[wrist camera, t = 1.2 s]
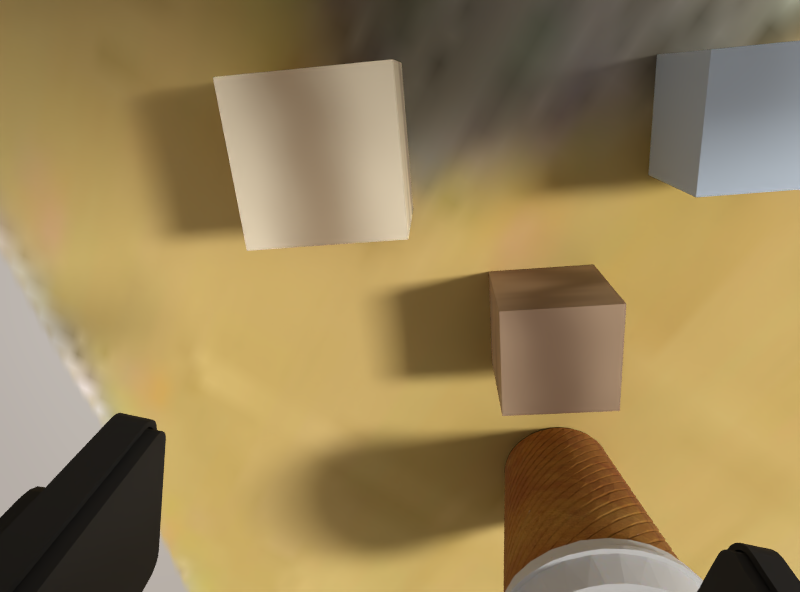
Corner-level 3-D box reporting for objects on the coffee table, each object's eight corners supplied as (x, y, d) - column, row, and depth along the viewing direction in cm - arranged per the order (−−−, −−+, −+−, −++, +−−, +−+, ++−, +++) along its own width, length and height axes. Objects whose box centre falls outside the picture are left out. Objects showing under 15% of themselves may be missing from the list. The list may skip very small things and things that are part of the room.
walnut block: (593, 264, 29) (626, 303, 24) (590, 356, 31) (619, 410, 26) (488, 271, 30) (499, 311, 25) (491, 361, 32) (502, 416, 27)
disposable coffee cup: (510, 546, 37) (542, 750, 26) (455, 434, 34) (464, 610, 23) (654, 504, 35) (757, 705, 24) (608, 381, 32) (701, 546, 21)
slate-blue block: (782, 42, 25) (870, 33, 20) (764, 165, 27) (840, 186, 22) (656, 54, 26) (711, 49, 20) (647, 174, 28) (696, 197, 22)
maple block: (401, 62, 26) (392, 59, 21) (413, 207, 29) (408, 239, 23) (258, 76, 27) (212, 76, 21) (282, 217, 30) (247, 250, 24)
